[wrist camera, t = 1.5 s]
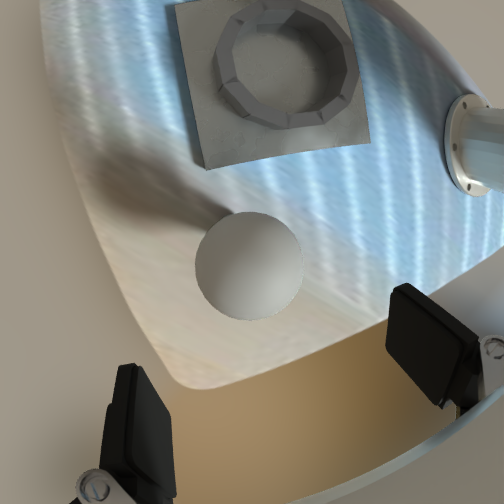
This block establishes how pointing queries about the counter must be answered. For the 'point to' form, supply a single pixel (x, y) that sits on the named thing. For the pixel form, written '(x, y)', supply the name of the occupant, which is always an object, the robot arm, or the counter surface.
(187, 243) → the counter surface
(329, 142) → the plate
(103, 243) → the counter surface
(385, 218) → the counter surface
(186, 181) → the counter surface
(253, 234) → the lightbulb
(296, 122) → the socket
